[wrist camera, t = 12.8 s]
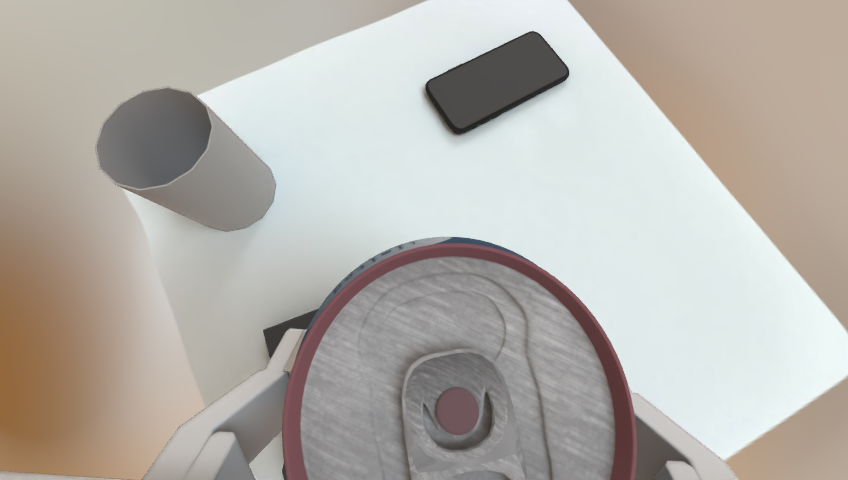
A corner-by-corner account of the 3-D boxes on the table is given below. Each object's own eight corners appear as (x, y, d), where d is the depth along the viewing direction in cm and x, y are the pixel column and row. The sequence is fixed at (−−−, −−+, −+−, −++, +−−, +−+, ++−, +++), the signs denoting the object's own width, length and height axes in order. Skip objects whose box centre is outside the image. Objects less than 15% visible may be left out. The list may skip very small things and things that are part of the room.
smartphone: (575, 73, 35) (457, 134, 33) (571, 80, 36) (456, 139, 34) (535, 26, 37) (421, 82, 35) (532, 34, 38) (421, 88, 36)
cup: (193, 237, 32) (90, 199, 22) (192, 163, 34) (98, 98, 24) (279, 221, 32) (215, 177, 23) (272, 148, 34) (212, 79, 25)
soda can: (361, 298, 18) (236, 243, 6) (487, 276, 18) (600, 183, 6) (379, 440, 16) (249, 753, 4) (518, 414, 16) (755, 641, 4)
